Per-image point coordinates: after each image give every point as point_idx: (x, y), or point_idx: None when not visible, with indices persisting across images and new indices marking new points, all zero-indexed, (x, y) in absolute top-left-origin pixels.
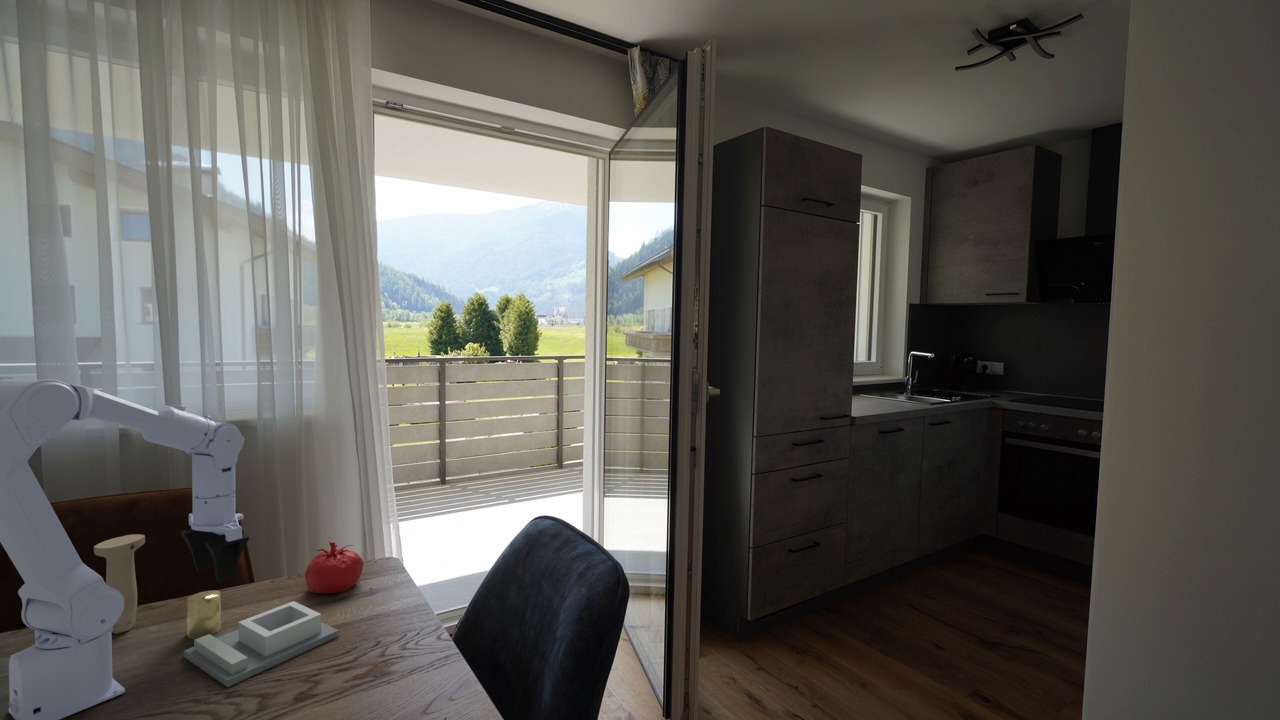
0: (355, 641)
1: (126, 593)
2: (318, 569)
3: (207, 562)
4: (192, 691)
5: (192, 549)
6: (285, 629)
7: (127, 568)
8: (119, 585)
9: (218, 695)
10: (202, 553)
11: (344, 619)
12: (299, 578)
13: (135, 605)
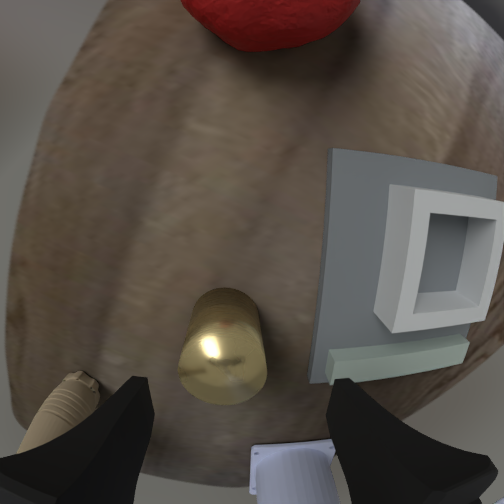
0: None
1: None
2: (307, 16)
3: (143, 411)
4: (417, 386)
5: (133, 499)
6: (494, 282)
7: None
8: None
9: (453, 367)
10: (131, 456)
11: (450, 115)
12: (110, 29)
13: (74, 401)
